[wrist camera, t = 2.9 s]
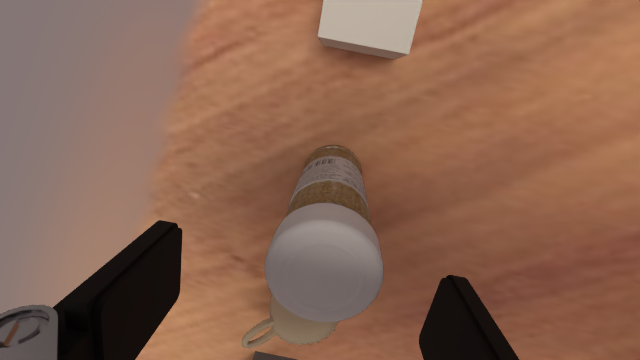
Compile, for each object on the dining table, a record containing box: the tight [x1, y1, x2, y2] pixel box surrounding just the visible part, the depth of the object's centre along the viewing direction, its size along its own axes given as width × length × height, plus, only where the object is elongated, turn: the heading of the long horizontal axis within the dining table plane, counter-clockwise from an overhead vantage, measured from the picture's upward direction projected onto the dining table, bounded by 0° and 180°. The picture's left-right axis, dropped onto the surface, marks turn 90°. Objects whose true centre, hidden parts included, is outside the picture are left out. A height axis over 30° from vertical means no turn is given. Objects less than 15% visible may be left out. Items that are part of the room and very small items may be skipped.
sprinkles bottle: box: [265, 145, 383, 322], centre depth 18 cm, size 5×5×13 cm
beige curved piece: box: [242, 292, 339, 348], centre depth 25 cm, size 4×8×5 cm, turn 95°
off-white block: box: [318, 0, 423, 59], centre depth 18 cm, size 5×5×5 cm
